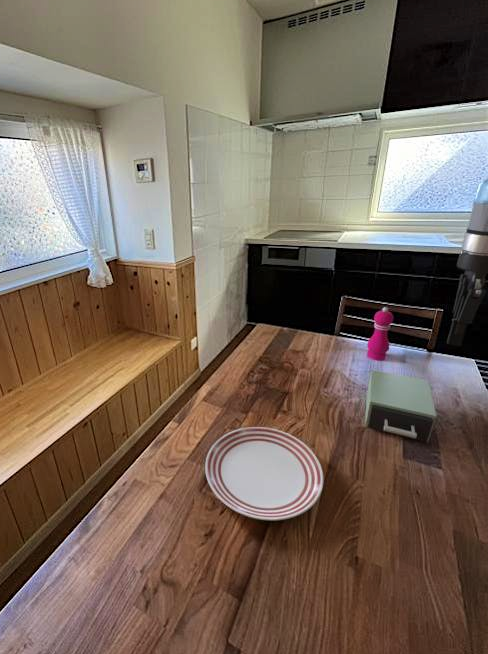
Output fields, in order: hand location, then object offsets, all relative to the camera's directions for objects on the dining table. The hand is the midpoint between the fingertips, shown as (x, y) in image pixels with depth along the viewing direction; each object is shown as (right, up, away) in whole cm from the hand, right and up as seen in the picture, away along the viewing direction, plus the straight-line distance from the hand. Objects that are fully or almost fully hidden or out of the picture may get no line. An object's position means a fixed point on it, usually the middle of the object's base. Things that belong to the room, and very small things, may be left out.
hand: (453, 343), depth 85 cm
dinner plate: (-50, -32, -4) cm, 59 cm away
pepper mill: (+4, -8, +42) cm, 43 cm away
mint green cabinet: (-7, -22, +12) cm, 26 cm away
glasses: (-39, -15, +33) cm, 53 cm away
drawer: (-9, -22, +9) cm, 26 cm away
